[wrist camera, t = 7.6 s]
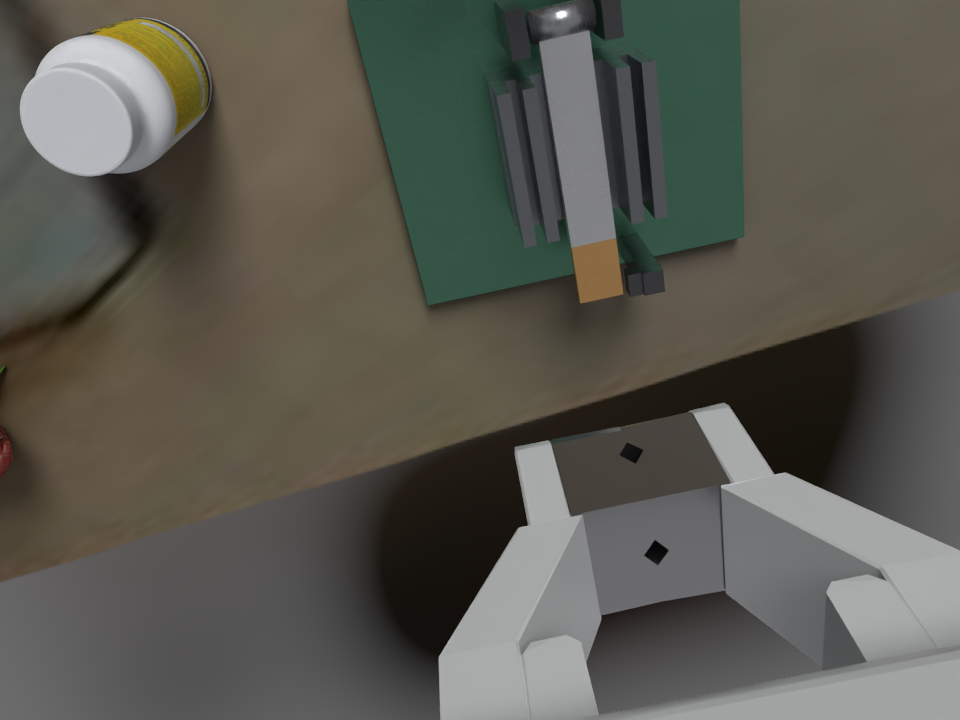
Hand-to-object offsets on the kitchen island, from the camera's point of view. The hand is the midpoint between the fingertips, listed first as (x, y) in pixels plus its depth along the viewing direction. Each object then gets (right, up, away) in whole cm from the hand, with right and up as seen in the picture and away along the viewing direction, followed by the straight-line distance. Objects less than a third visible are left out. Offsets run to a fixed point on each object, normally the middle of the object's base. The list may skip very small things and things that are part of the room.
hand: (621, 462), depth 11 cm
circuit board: (+2, +14, +28) cm, 31 cm away
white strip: (+3, +11, +25) cm, 27 cm away
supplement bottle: (-18, +15, +26) cm, 35 cm away
